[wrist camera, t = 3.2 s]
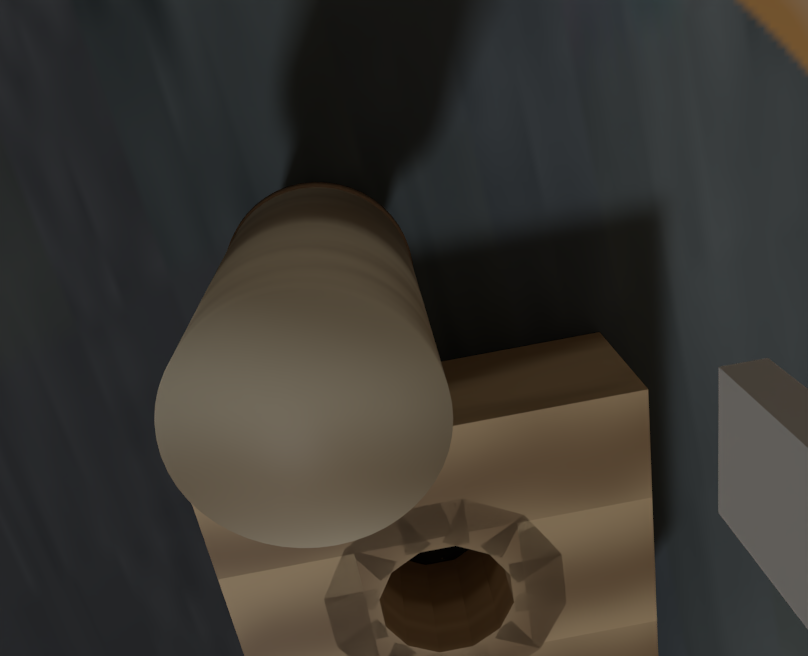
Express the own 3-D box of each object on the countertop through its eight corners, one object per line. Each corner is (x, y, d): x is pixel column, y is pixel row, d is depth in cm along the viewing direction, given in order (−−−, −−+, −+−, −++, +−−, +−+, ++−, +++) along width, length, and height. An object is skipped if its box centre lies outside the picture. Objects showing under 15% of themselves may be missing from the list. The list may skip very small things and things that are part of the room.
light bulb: (227, 172, 25) (109, 319, 12) (386, 143, 25) (431, 259, 13) (266, 319, 28) (200, 572, 15) (412, 291, 28) (473, 521, 15)
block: (208, 405, 29) (182, 476, 24) (599, 332, 29) (648, 389, 24) (292, 673, 35) (284, 772, 30) (617, 611, 35) (659, 700, 30)
